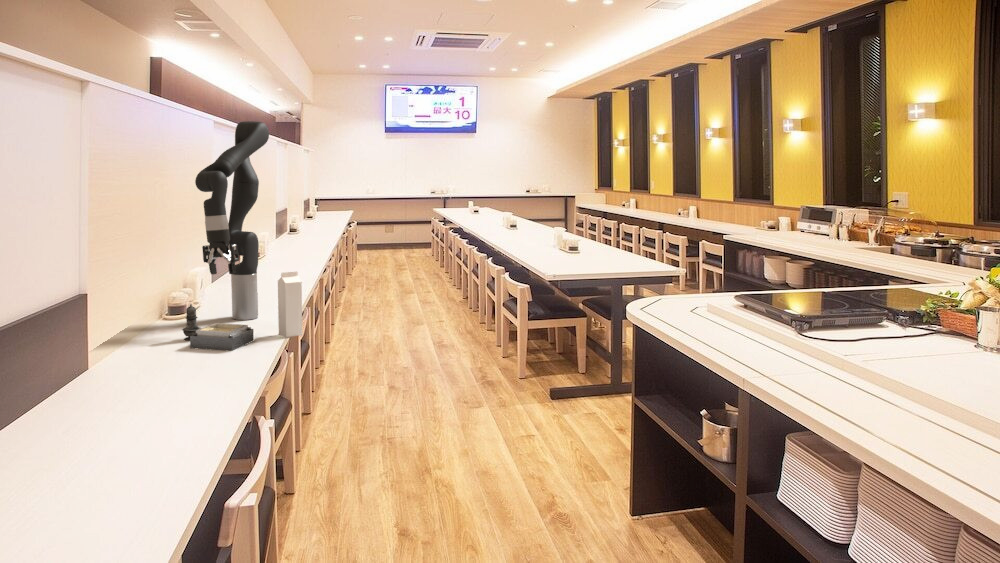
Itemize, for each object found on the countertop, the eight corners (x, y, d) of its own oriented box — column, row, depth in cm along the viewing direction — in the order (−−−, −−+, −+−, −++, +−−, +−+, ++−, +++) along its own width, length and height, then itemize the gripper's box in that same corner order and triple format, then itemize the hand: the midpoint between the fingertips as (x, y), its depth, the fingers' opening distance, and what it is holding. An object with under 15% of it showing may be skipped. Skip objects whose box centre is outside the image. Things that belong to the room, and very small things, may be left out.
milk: (302, 335, 238) (302, 272, 234) (286, 337, 233) (285, 273, 230) (294, 332, 242) (294, 270, 239) (278, 334, 238) (277, 271, 235)
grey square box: (214, 338, 229) (213, 322, 229) (253, 340, 228) (253, 324, 227) (190, 348, 216) (189, 331, 215) (232, 350, 214) (231, 333, 213)
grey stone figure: (186, 337, 230) (184, 302, 228) (204, 337, 230) (203, 302, 229) (179, 341, 224) (178, 305, 222) (198, 341, 225) (196, 305, 223)
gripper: (240, 226, 241) (246, 272, 244) (210, 228, 247) (215, 272, 249) (224, 228, 234) (230, 275, 237) (193, 230, 240) (199, 275, 242)
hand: (223, 274), depth 243 cm, fingers open, 8 cm apart
